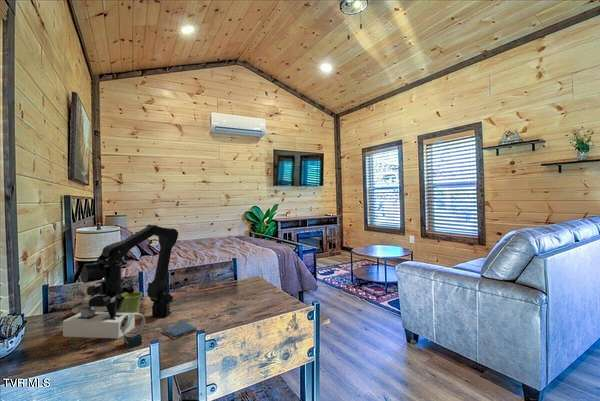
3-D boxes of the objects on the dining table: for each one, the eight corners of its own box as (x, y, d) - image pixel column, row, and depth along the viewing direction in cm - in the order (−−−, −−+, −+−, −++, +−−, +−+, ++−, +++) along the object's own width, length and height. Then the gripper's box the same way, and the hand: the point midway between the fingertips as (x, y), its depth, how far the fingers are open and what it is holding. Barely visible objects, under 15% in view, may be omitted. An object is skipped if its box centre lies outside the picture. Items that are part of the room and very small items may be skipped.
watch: (117, 345, 110) (118, 314, 110) (142, 338, 116) (142, 309, 116) (122, 350, 106) (122, 318, 106) (147, 343, 112) (147, 313, 112)
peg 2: (121, 329, 123) (122, 315, 123) (114, 334, 118) (114, 319, 118) (110, 328, 124) (110, 314, 124) (102, 333, 119) (102, 319, 119)
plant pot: (126, 319, 135) (126, 299, 135) (114, 314, 140) (115, 295, 140) (146, 312, 143) (146, 293, 143) (135, 308, 148) (135, 290, 148)
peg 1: (98, 318, 124) (98, 304, 124) (89, 322, 119) (89, 308, 119) (86, 317, 124) (86, 304, 124) (77, 322, 119) (77, 308, 119)
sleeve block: (134, 327, 126) (134, 313, 126) (118, 338, 116) (118, 322, 116) (83, 325, 127) (83, 311, 127) (62, 336, 117) (63, 320, 117)
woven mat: (184, 325, 130) (184, 320, 130) (199, 332, 123) (199, 327, 123) (160, 333, 122) (160, 328, 122) (174, 341, 115) (174, 335, 115)
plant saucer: (61, 315, 139) (62, 308, 139) (108, 302, 157) (108, 296, 157) (87, 324, 129) (87, 316, 129) (134, 309, 148) (134, 302, 148)
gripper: (109, 271, 131) (108, 308, 131) (74, 283, 112) (74, 326, 112) (134, 272, 130) (134, 309, 130) (103, 284, 112) (103, 327, 112)
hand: (112, 317), depth 121 cm, fingers closed, pressing on peg 2
